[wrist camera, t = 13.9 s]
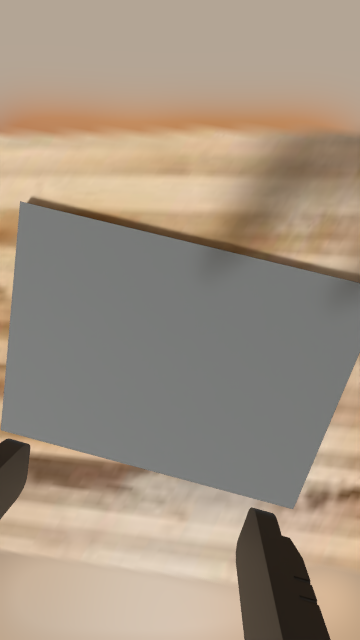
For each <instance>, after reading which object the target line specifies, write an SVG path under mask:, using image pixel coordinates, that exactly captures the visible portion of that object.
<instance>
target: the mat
mask: <svg viewBox="0 0 360 640" xmlns="http://www.w3.org/2000/svg"><path fill="white" fill-rule="evenodd" d="M359 353H360V283H357V282H353V281H349V280H345V279H341V278H336V277H332V276H328V275H324V274H320V273H316V272H311V271H307V270H303V269H299V268H295V267H291V266H287V265H282V264H278V263H274V262H270V261H266V260H262V259H257V258H253V257H249V256H245V255H241V254H237V253H232V252H228V251H224V250H220V249H216V248H212V247H208V246H203V245H199V244H195V243H191V242H187V241H183V240H178V239H174V238H170V237H166V236H162V235H158V234H154V233H149V232H145V231H141V230H137V229H133V228H129V227H124V226H120V225H116V224H112V223H108V222H104V221H100V220H95V219H91V218H87V217H83V216H79V215H75V214H70V213H66V212H62V211H58V210H54V209H50V208H46V207H41V206H37V205H33V204H29V203H25V202H21V201H20V210H19V222H18V234H17V245H16V257H15V269H14V281H13V293H12V305H11V316H10V328H9V340H8V352H7V364H6V376H5V387H4V399H3V411H2V423H1V430H2V431H6V432H10V433H13V434H17V435H21V436H24V437H28V438H32V439H35V440H39V441H43V442H47V443H50V444H54V445H58V446H61V447H65V448H69V449H72V450H76V451H80V452H83V453H87V454H91V455H95V456H98V457H102V458H106V459H109V460H113V461H117V462H120V463H124V464H128V465H131V466H135V467H139V468H143V469H146V470H150V471H154V472H157V473H161V474H165V475H168V476H172V477H176V478H180V479H183V480H187V481H191V482H194V483H198V484H202V485H205V486H209V487H213V488H216V489H220V490H224V491H228V492H231V493H235V494H239V495H242V496H246V497H250V498H253V499H257V500H261V501H265V502H268V503H272V504H276V505H279V506H283V507H287V508H290V509H293V508H294V506H295V504H296V501H297V499H298V497H299V494H300V492H301V489H302V487H303V485H304V482H305V480H306V478H307V475H308V473H309V471H310V468H311V466H312V464H313V461H314V459H315V456H316V454H317V452H318V449H319V447H320V445H321V442H322V440H323V438H324V435H325V433H326V431H327V428H328V426H329V424H330V421H331V419H332V416H333V414H334V412H335V409H336V407H337V405H338V402H339V400H340V398H341V395H342V393H343V391H344V388H345V386H346V383H347V381H348V379H349V376H350V374H351V372H352V369H353V367H354V365H355V362H356V360H357V358H358V355H359Z"/></svg>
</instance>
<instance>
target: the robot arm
mask: <svg viewBox="0 0 360 640" xmlns="http://www.w3.org/2000/svg"><path fill="white" fill-rule="evenodd" d="M29 455H30V445H29V444H27V443H23V442H19V441H16V440H12V439H6V440H4V441H3V442H1V443H0V519H1V518H2V517H3V515H4V514H5V513H6V512H7V510H8V509H9V508H10V507H11V506H12V504H13V503H14V502H15V501H16V499H17V498H18V496H19V495H20V493H21V492H22V490H23V488H24V485H25V483H26V479H27V472H28V464H29ZM236 567H237V576H238V585H239V594H240V603H241V612H242V621H243V630H244V639H245V640H330V637H329V634H328V631H327V628H326V625H325V623H324V619H323V616H322V613H321V611H320V608H319V606H318V605H317V599H316V596H315V593H314V590H313V587H312V585H310V579H309V576H308V573H307V570H306V567H305V564H304V561H303V558H302V557H301V555H300V553H299V552H298V550H297V549H296V547H295V545H294V544H293V542H292V541H291V539H290V538H288V537H284V536H282V535H281V532H280V528H279V525H278V522H277V519H276V516H275V515H274V514H273V513H270V512H266V511H262V510H259V509H255V508H250V509H249V512H248V514H247V517H246V520H245V522H244V525H243V528H242V530H241V533H240V536H239V538H238V542H237V548H236Z"/></svg>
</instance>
